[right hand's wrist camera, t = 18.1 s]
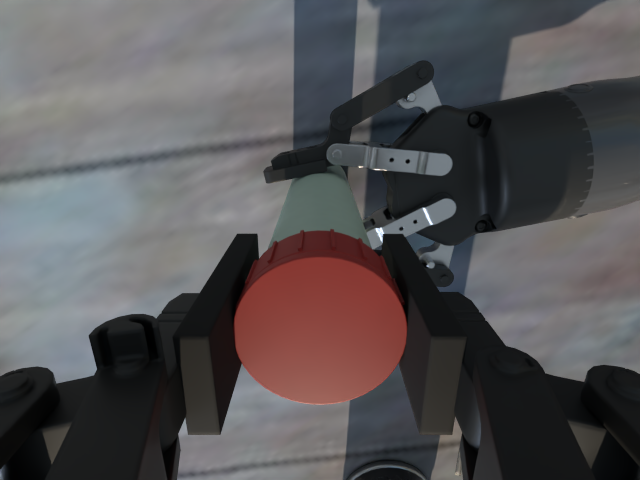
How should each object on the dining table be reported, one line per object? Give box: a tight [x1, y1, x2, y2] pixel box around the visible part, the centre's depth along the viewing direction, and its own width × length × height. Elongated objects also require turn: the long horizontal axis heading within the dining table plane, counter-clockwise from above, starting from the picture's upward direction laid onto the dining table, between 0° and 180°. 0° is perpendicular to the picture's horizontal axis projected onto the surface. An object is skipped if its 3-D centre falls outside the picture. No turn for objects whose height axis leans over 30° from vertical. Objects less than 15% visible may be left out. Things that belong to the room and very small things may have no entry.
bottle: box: [268, 165, 372, 249], centre depth 20 cm, size 4×4×19 cm
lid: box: [233, 229, 407, 404], centre depth 11 cm, size 5×5×2 cm
